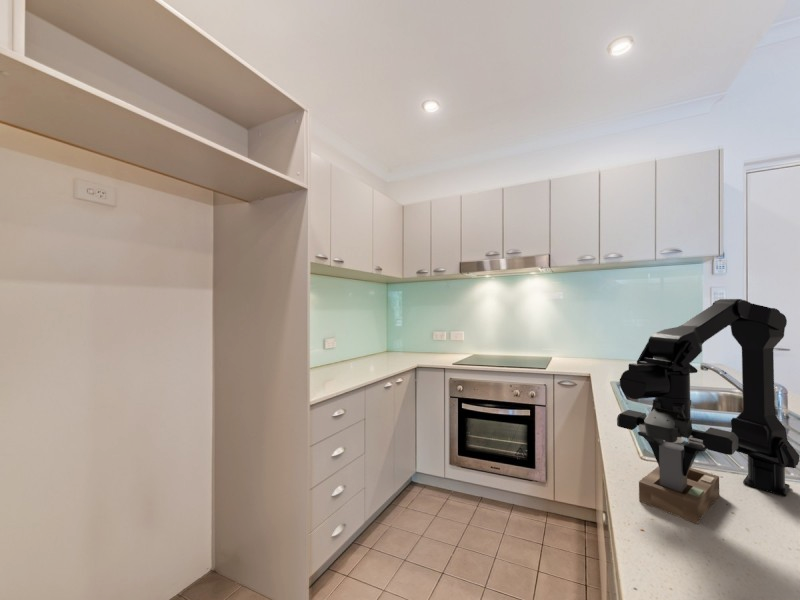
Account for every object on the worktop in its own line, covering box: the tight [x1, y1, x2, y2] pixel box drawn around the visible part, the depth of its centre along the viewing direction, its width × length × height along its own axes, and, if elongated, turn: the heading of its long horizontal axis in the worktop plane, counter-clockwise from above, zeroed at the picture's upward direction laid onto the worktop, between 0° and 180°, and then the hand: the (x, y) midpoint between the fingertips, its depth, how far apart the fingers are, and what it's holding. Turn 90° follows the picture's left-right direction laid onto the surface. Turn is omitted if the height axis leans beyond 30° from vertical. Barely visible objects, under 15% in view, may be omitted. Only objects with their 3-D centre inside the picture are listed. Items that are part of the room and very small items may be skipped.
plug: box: [658, 441, 687, 492], centre depth 71 cm, size 4×4×8 cm
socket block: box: [638, 465, 720, 525], centre depth 73 cm, size 16×9×4 cm, turn 126°
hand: (673, 471), depth 71 cm, fingers closed on plug, 4 cm apart
